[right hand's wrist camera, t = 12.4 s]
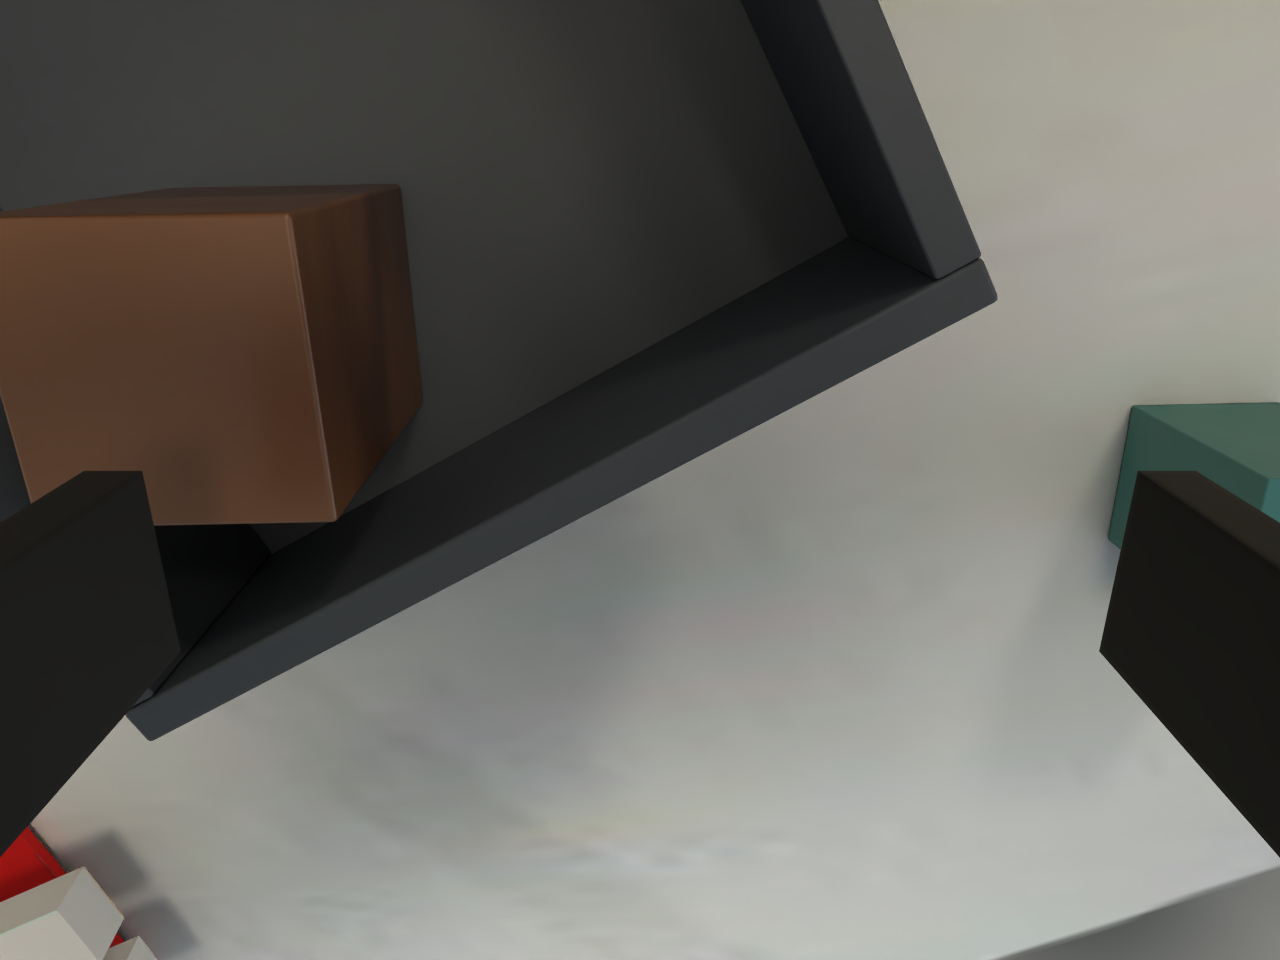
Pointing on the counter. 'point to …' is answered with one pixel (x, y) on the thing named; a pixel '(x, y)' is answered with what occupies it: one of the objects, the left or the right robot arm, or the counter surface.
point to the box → (510, 253)
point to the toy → (57, 910)
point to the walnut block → (211, 345)
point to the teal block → (1204, 451)
